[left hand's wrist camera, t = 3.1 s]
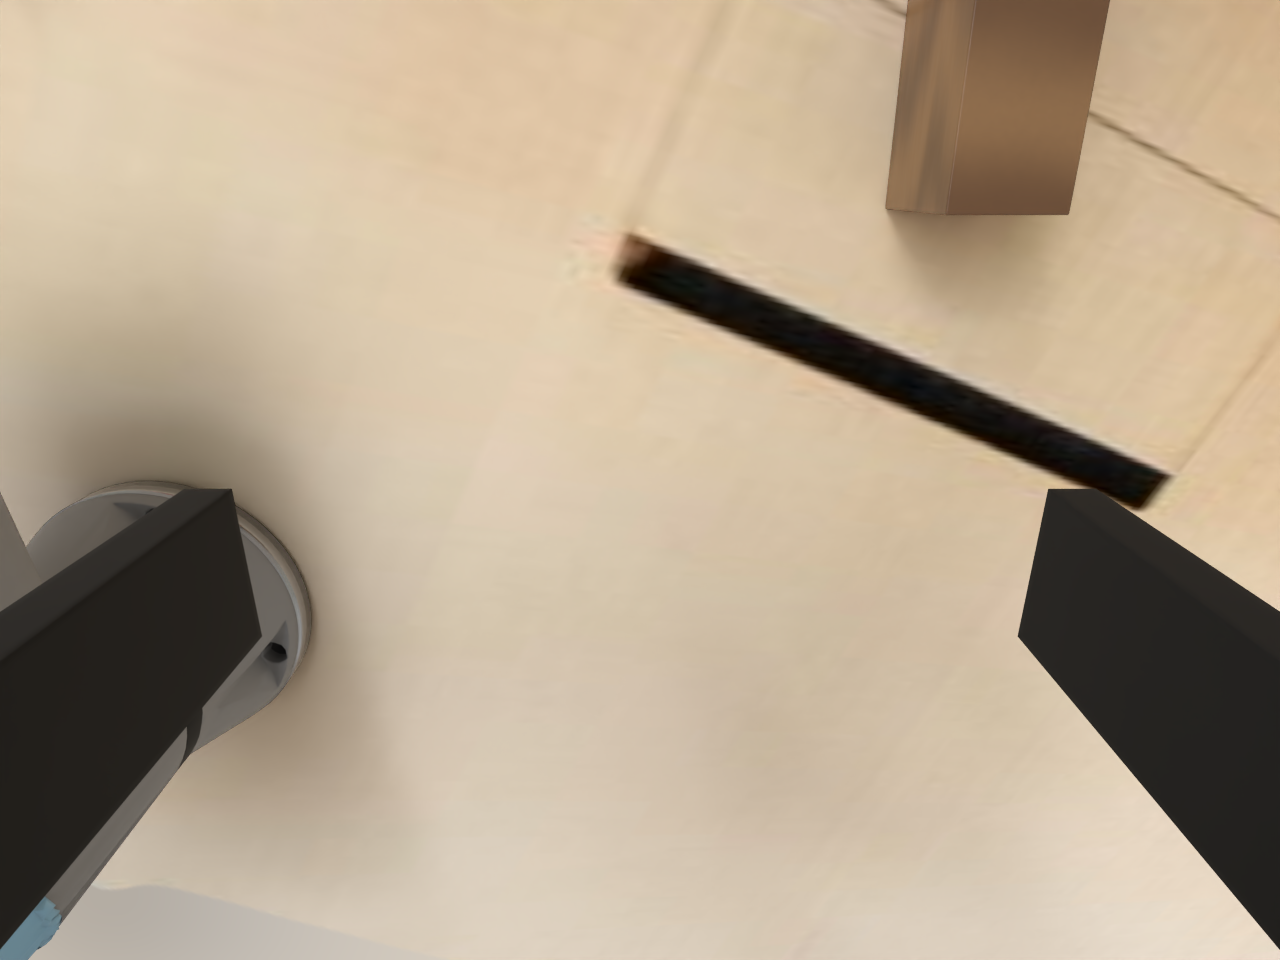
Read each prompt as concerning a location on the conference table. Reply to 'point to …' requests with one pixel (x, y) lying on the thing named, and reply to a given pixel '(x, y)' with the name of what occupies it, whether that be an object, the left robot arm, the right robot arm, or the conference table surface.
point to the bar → (993, 105)
